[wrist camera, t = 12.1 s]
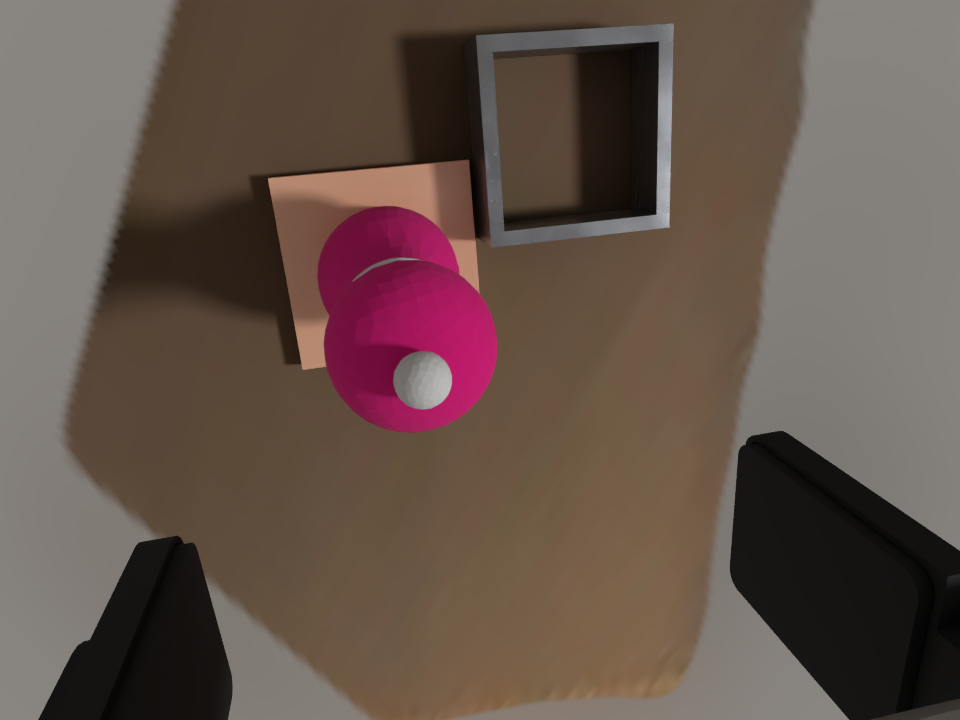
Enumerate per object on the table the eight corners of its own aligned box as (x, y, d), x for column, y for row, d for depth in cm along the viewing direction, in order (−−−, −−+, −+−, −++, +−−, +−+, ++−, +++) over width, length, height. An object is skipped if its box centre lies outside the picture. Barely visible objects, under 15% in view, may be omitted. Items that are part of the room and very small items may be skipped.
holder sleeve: (463, 44, 35) (476, 35, 32) (644, 33, 37) (673, 23, 34) (478, 238, 39) (491, 247, 36) (642, 220, 41) (669, 227, 37)
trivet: (269, 177, 36) (268, 178, 35) (465, 159, 37) (468, 160, 36) (303, 364, 39) (302, 369, 38) (480, 340, 41) (483, 344, 40)
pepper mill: (353, 341, 38) (364, 536, 20) (297, 228, 36) (249, 333, 17) (464, 293, 39) (576, 440, 20) (416, 177, 36) (496, 225, 18)
